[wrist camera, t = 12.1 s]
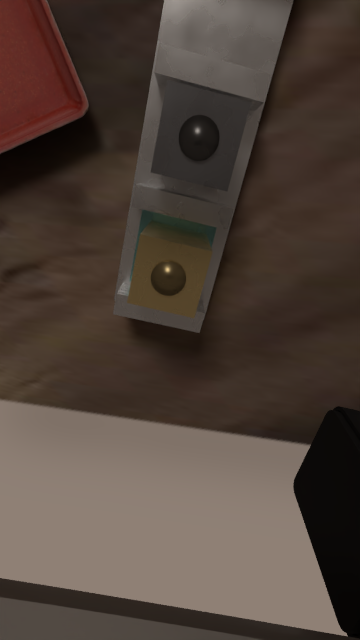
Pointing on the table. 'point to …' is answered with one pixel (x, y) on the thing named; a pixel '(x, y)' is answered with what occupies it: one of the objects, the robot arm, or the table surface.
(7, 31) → the plant saucer
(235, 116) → the dark knobbed cube
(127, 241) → the rail
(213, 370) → the table surface
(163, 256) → the yellow tall block
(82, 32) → the table surface
